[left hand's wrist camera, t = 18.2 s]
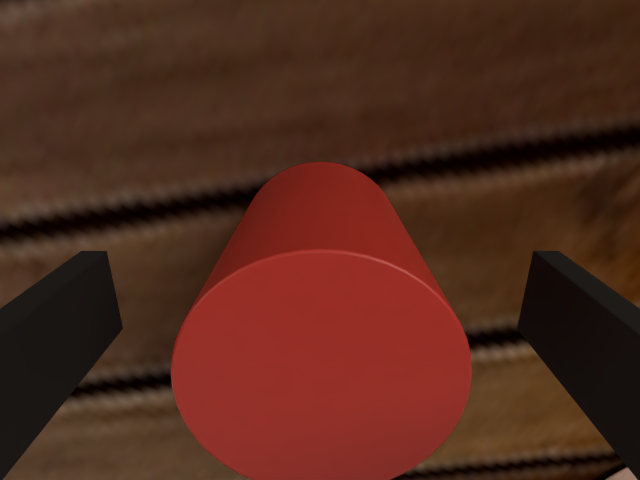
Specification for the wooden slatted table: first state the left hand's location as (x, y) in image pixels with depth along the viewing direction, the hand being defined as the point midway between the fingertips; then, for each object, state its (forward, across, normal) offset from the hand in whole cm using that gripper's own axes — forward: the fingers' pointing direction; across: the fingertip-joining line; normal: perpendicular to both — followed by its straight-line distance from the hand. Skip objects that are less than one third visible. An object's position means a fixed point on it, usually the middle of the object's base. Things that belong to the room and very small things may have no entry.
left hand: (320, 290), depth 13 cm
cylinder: (+5, 0, 0) cm, 5 cm away
